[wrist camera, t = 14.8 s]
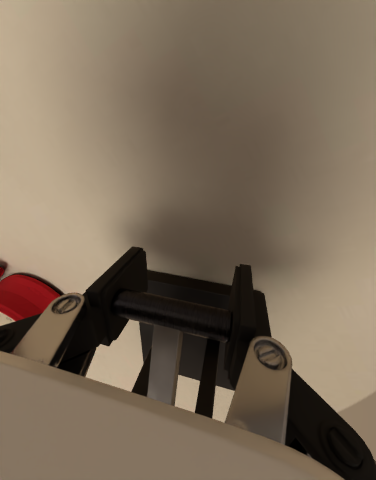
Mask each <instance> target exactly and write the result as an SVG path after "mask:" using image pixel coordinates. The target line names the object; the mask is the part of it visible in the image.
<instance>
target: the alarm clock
mask: <svg viewBox="0 0 376 480" xmlns="http://www.w3.org/2000/svg"><path fill="white" fill-rule="evenodd" d="M3 273H4V269H3V268H1V267H0V277H1V276H2V275H3ZM58 297H60V295H59V294H58V293H57V292H55V291H54V290H53V289H51V288H50V287H49V286H47V285H46V284H44V283H42V282H40V281H38V280H36V279H34V278H31V277H28V276H25V275H18V274H17V275H10V276H8V277H6V278H4V279H3V280H2V281H1V282H0V326H2V325H5V324H8V323H11V322H15V321H18V320H21V319H24V318H27V317H31V316H34V315H37V314H40V313H43V312H44V310H45V309H46V308H47V307H48V305H49V304H50V303H51V302H52V301H53V300H55V299H56V298H58Z"/></svg>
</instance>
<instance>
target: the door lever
mask: <svg viewBox="0 0 376 480" xmlns="http://www.w3.org/2000/svg"><path fill="white" fill-rule="evenodd" d="M111 313H112V314H113V315H114V316H118V317H122V318H126V319H130V320H135V321H139V322H143V323H147V324H151V325H154V330H153V341H152V352H151V362H150V373H149V384H148V394H147V397H148V398H151V399H154V400H157V401H160V402H163V403H166V404H169V405H172V406H174V405H175V397H176V389H177V381H178V372H179V364H180V356H181V348H182V340H183V332H184V333H188V334H192V335H196V336H200V337H204V338H208V339H212V340H216V341H220V342H224V343H229V341H230V336H231V329H232V320H233V312H232V311H230V310H225V309H220V308H216V307H211V306H206V305H201V304H197V303H192V302H187V301H183V300H178V299H173V298H168V297H164V296H159V295H154V294H150V293H145V292H140V291H135V290H131V289H126V288H120V289H119V290H117V292H116V293H115V295H114V296H113V299H112V302H111Z"/></svg>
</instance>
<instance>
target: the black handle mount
mask: <svg viewBox="0 0 376 480" xmlns="http://www.w3.org/2000/svg"><path fill="white" fill-rule="evenodd" d="M147 278H148V290H147V292H146V293H150V294H154V295H159V296H164V297H168V298H173V299H178V300H183V301H187V302H192V303H197V304H201V305H206V306H211V307H216V308H220V309H225V310H228V305H229V299H230V294H231V289H232V286H228V285H223V284H218V283H212V282H207V281H202V280H196V279H191V278H186V277H180V276H175V275H170V274H164V273H159V272H154V271H148V270H147ZM253 291H255V290H253ZM255 292H260V291H255ZM260 293H261V292H260ZM139 325H140V334H141V343H142V352H143V362H144V364H143V367H142V369H141V371H140V373H139V376H138V378H137V380H136V382H135V385H134V387H133V389H132V392H133V393H136V394H139V395H142V396H145V397H147V394H148V384H149V373H150V362H151V352H152V341H153V330H154V325H151V324H147V323H143V322H139ZM224 356H225V343H224V342H220V341H216V340H212V339H208V338H204V337H200V336H196V335H192V334H188V333H184V332H183V340H182V348H181V356H180V364H179V372H178V375H182V376H185V377H189V378H192V379H196V380H199V381H200V385H199V391H198V397H197V403H196V409H195V413H197V414H200V415H203V416H206V417H209V418H212V415H213V406H214V396H215V386H220V387H223V388H227V389H230V390H233V391H235V390H234V389H233V387H232V386H231V384H230V380H228V371H225V370H224Z"/></svg>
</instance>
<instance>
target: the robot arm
mask: <svg viewBox="0 0 376 480" xmlns="http://www.w3.org/2000/svg"><path fill="white" fill-rule="evenodd" d="M120 288H126V289H131V290H135V291H140V292H145V293H146V292H147V290H148V278H147V262H146V252H145V251H143V248H140V247H131V248H130V249H129V250H128V251H127V252H126V253H125V254H124V255H123V256H122V257H121V258H120V259H119V260H117V261H116V262H115V263H114V264H113V265H112V266H111V267H110V268H109V269H108V270H107V271H106V272H105V273H104V274H103V275H102V276H100V277H99V278H98V279H97V280H96V281H95V282H94V283H93V284H92V285H91V286H90V287H89V288H88V289H87V290H86V292H85V293H84V294H83V295H82V294H79V293H68V294H64V295H62V296H60V297H58V298H56V299H55V300H53V301H52V302H51V303H50V304H49V305H48V307H47V308H46V309H45V310H44V312H43V313H40V314H37V315H34V316H31V317H27V318H24V319H21V320H18V321H15V322H11V323H8V324H5V325H2V326H0V480H376V461H375V460H374V459H373V456H372V454H371V452H370V450H369V449H368V447H367V445H366V444H365V442H364V441H363V439H362V438H361V437H360V436H359V435H358V434H357V433H356V431H355V430H354V429H353V428H352V427H351V426H350V425H349V424H348V423H347V422H345V420H343V418H341V417H340V416H339V415H338V414H337V413H336V412H335V411H334V410H333V409H332V408H331V407H330V406H329V405H328V404H327V403H326V402H325V401H324V400H323V399H322V398H321V397H320V396H319V395H318V394H317V393H316V392H315V391H314V390H313V389H312V388H311V387H310V386H309V385H308V384H307V383H306V382H305V381H304V380H303V379H302V378H301V377H300V376H299V375H298V374H297V373H296V372H295V371H294V370H293V369H292V358H291V356H290V354H289V352H288V350H287V349H286V348H285V346H283V345H282V344H281V343H280V342H279V341H277V340H275V339H274V338H271V332H270V325H269V319H268V313H267V307H266V301H265V295H264V293H260V292H255V291H253V283H252V272H251V266H250V265H243V264H240V266H236V267H235V272H234V278H233V283H232V289H231V294H230V299H229V305H228V310H230V311H232V312H233V320H232V329H231V336H230V341H229V343H225V356H224V370H225V371H228V380H230V384H231V386H232V387H233V389H234V390H235V392H234V395H233V399H232V402H231V405H230V408H229V411H228V414H227V417H226V420H225V423H223V422H221V421H218V420H215V419H212V418H209V417H206V416H203V415H200V414H197V413H194V412H190V411H187V410H184V409H181V408H178V407H175V406H172V405H169V404H166V403H163V402H160V401H157V400H154V399H151V398H148V397H145V396H142V395H139V394H136V393H133V392H129V391H126V390H123V389H120V388H117V387H114V386H111V385H108V384H105V383H102V382H99V381H95V380H92V379H89V378H86V377H85V376H86V374H87V371H88V369H89V366H90V363H91V361H92V358H93V356H94V353H95V351H96V347H98V346H99V345H100V344H102V345H106V346H110V344H111V343H112V341H113V340H116V339H117V338H118V337H119V335H120V333H121V332H122V330H123V329H124V327H125V326H126V324H127V322H128V321H129V319H126V318H122V317H118V316H114V315H113V314H112V313H111V302H112V299H113V296H114V295H115V293H116V292H117V290H119V289H120Z"/></svg>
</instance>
